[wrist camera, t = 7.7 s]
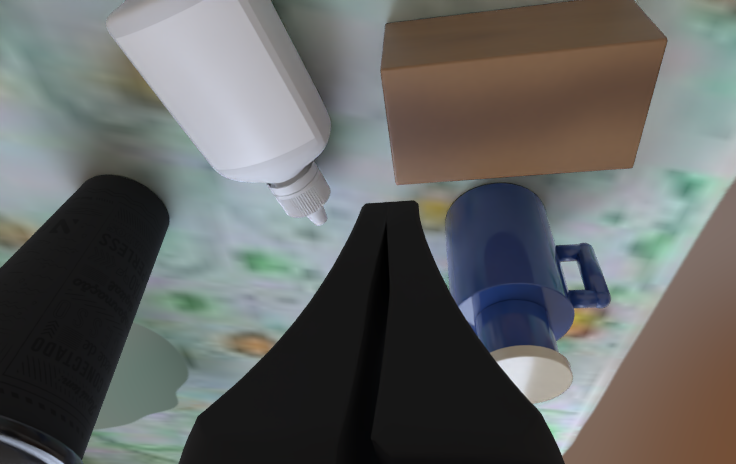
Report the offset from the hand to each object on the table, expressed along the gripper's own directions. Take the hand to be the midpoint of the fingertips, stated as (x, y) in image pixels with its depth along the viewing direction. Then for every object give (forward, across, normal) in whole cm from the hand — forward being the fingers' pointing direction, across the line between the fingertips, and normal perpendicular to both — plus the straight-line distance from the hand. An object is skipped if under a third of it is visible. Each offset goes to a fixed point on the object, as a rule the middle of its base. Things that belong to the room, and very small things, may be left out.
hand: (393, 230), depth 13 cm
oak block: (+10, -4, +1) cm, 11 cm away
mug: (+10, -5, +6) cm, 13 cm away
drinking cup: (+11, +16, +7) cm, 20 cm away
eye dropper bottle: (+9, +8, -4) cm, 12 cm away
